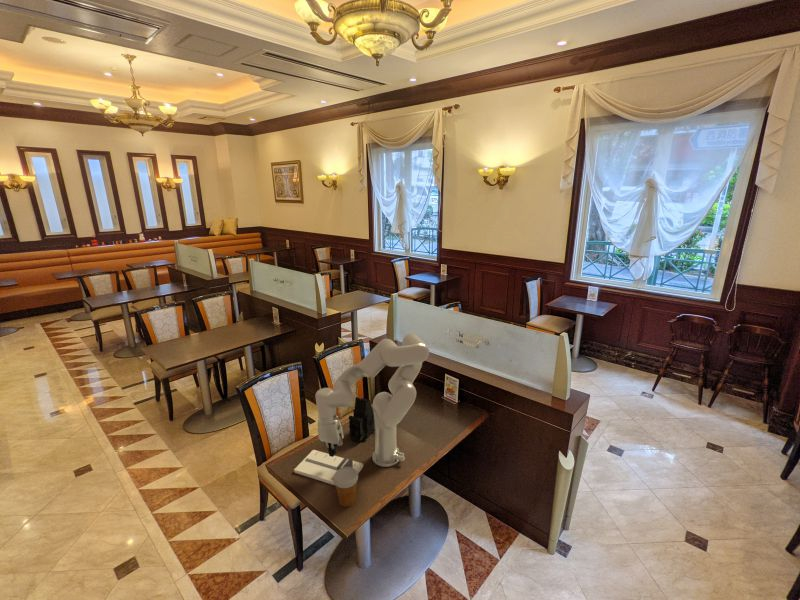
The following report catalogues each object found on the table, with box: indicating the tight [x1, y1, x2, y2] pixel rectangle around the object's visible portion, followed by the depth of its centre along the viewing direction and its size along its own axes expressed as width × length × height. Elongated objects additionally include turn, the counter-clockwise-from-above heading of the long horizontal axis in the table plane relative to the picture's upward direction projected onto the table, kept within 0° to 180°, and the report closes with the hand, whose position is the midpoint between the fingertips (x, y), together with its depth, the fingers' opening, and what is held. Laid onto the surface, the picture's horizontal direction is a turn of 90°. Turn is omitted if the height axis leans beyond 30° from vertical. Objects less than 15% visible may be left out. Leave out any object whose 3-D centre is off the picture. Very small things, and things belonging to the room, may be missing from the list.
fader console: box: [293, 449, 364, 486], centre depth 160 cm, size 26×14×2 cm, turn 68°
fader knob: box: [337, 457, 354, 470], centre depth 156 cm, size 4×6×4 cm, turn 158°
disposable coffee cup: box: [333, 467, 359, 508], centre depth 142 cm, size 10×10×12 cm
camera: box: [348, 396, 375, 442], centre depth 180 cm, size 10×14×20 cm
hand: (332, 454), depth 158 cm, fingers closed
